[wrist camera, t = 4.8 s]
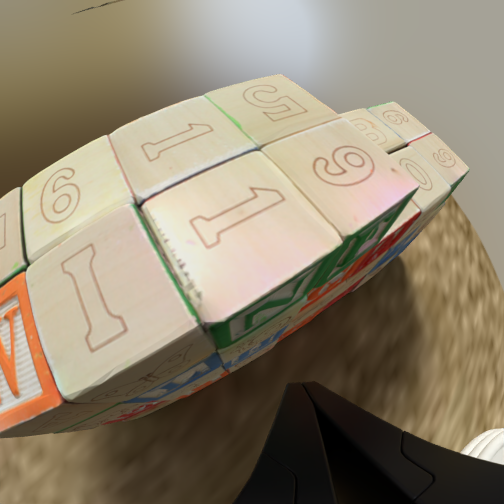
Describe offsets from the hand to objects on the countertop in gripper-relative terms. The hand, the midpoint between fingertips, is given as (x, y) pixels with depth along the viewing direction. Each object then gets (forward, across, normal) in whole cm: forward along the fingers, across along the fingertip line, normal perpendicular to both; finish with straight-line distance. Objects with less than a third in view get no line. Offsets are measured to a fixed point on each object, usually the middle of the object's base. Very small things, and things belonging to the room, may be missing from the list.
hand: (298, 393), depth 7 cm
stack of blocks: (+10, 0, -1) cm, 10 cm away
